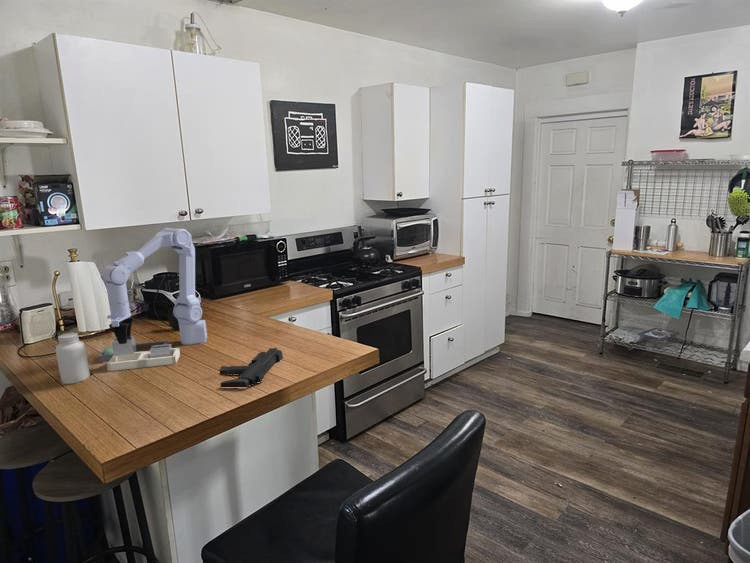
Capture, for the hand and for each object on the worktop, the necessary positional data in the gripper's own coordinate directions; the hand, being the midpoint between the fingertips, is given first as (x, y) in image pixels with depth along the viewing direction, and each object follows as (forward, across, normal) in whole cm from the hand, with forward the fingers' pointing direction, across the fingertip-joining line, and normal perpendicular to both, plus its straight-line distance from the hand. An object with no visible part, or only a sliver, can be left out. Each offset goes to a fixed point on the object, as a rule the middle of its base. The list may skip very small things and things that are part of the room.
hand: (124, 341), depth 163 cm
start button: (+8, -8, -8) cm, 14 cm away
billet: (+4, 0, 0) cm, 4 cm away
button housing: (+9, -8, -8) cm, 14 cm away
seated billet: (+8, +1, +11) cm, 14 cm away
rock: (+9, -38, +13) cm, 42 cm away
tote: (+9, -10, +3) cm, 14 cm away
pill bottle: (+9, +7, -14) cm, 18 cm away
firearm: (+10, +14, +38) cm, 42 cm away
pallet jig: (+9, +1, +6) cm, 11 cm away
